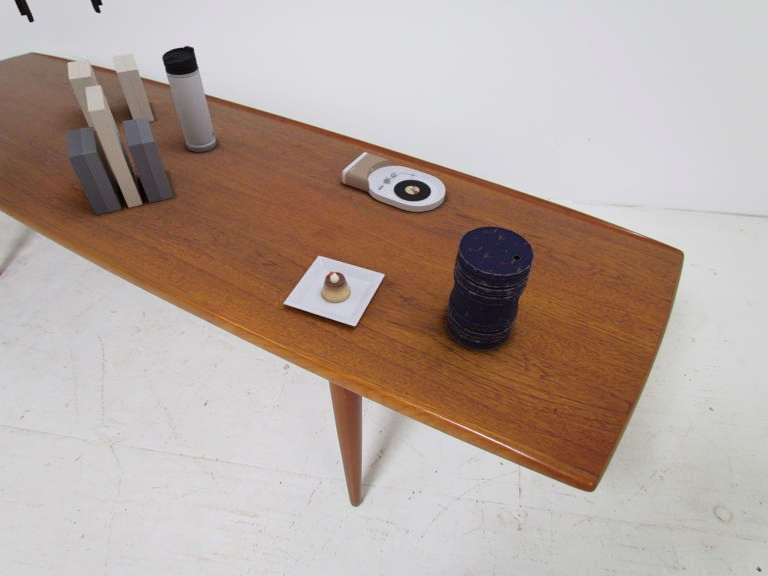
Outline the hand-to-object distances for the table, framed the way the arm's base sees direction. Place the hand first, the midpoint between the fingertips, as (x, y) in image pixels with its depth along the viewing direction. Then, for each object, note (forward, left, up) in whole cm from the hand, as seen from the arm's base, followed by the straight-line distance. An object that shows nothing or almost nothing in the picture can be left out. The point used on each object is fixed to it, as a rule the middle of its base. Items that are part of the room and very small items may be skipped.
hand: (65, 15), depth 79 cm
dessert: (+26, -48, -30) cm, 62 cm away
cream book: (0, -6, -30) cm, 31 cm away
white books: (+1, +28, -30) cm, 41 cm away
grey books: (0, -6, -30) cm, 31 cm away
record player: (+48, -25, -30) cm, 62 cm away
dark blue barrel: (+43, -63, -30) cm, 82 cm away
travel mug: (+16, +7, -30) cm, 35 cm away
